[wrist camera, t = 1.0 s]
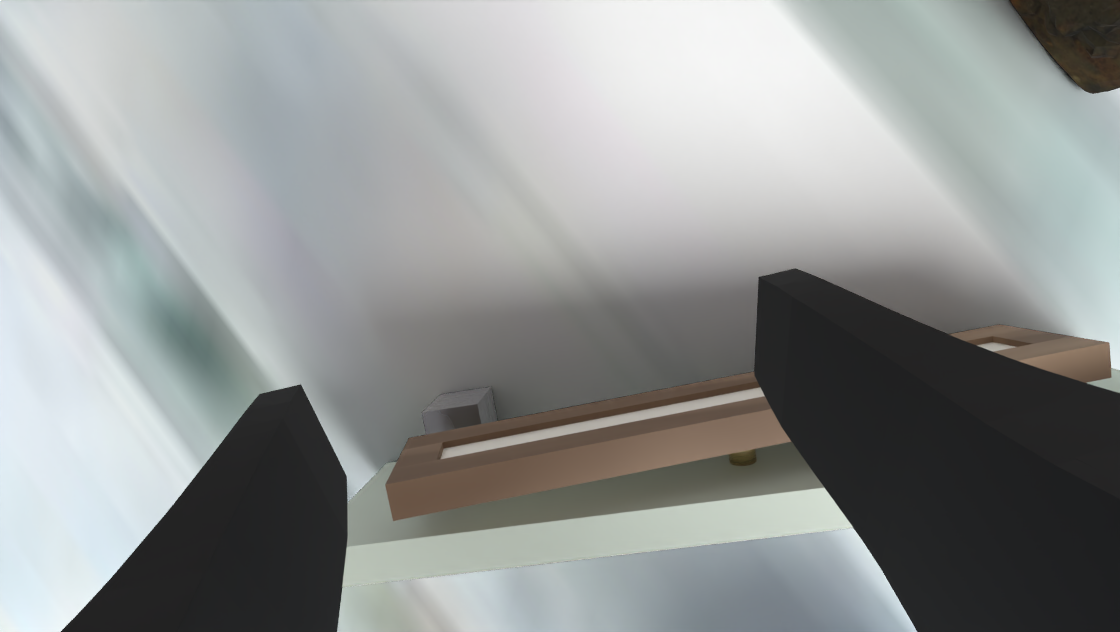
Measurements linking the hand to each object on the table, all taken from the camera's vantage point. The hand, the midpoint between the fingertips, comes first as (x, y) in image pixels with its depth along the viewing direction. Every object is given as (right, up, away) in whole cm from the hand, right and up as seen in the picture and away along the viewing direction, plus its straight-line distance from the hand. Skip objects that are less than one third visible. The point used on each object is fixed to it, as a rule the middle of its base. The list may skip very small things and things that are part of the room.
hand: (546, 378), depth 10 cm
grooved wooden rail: (+5, -2, +11) cm, 12 cm away
